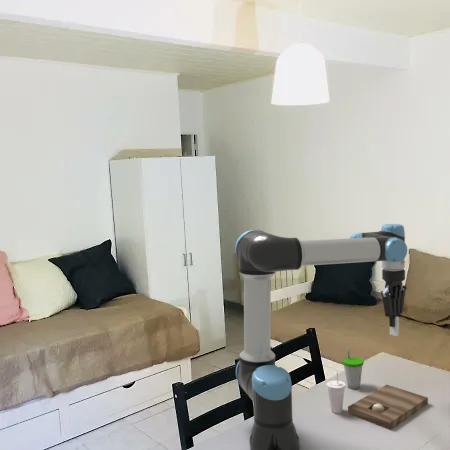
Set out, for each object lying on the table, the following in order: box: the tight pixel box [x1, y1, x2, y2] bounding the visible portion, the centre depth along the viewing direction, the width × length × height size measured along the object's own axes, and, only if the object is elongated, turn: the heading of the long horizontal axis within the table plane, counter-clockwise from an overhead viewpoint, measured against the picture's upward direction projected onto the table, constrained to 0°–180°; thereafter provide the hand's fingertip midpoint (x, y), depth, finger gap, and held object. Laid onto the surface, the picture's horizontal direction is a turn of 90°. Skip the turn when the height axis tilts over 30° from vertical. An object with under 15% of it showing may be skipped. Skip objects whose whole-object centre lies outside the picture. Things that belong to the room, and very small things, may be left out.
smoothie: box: [325, 371, 346, 414], centre depth 177 cm, size 6×6×14 cm
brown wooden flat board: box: [347, 384, 429, 431], centre depth 177 cm, size 24×16×2 cm, turn 131°
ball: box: [372, 404, 385, 413], centre depth 173 cm, size 4×4×4 cm
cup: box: [342, 345, 364, 390], centre depth 196 cm, size 8×8×15 cm
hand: (394, 334), depth 181 cm, fingers closed
